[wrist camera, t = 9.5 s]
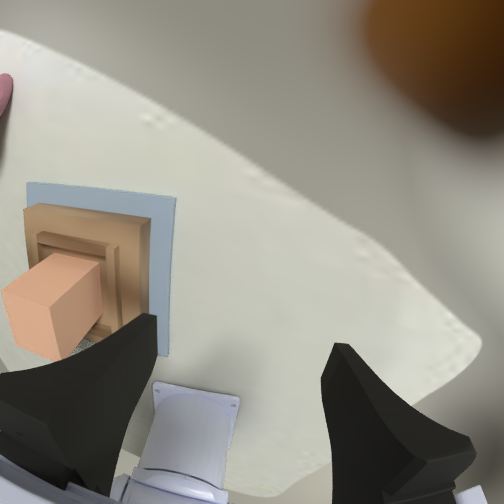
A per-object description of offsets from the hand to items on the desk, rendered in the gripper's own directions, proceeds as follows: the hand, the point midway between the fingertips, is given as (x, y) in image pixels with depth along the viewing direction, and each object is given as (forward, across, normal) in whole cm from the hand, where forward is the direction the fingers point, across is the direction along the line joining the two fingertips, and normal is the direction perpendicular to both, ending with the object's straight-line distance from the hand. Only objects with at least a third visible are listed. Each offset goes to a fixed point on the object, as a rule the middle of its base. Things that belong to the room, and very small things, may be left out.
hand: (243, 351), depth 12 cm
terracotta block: (+7, +12, +3) cm, 14 cm away
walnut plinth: (+9, +12, +3) cm, 16 cm away
